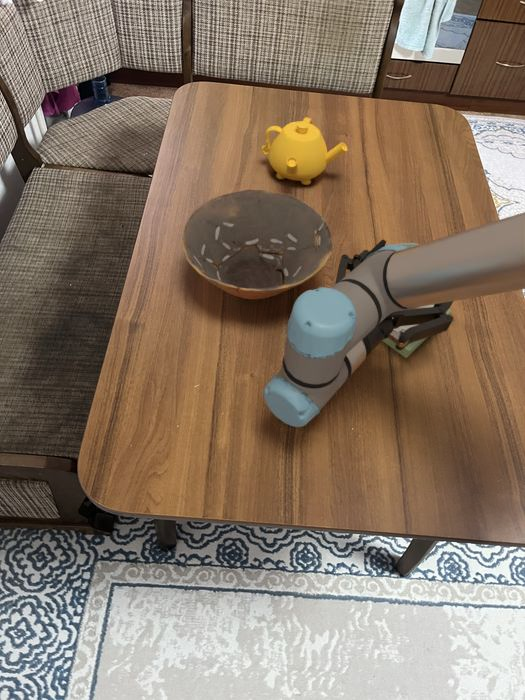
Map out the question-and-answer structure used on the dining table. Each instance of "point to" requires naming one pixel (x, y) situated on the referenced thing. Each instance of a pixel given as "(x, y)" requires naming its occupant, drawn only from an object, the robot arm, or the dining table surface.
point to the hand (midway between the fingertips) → (417, 265)
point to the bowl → (256, 242)
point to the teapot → (299, 151)
